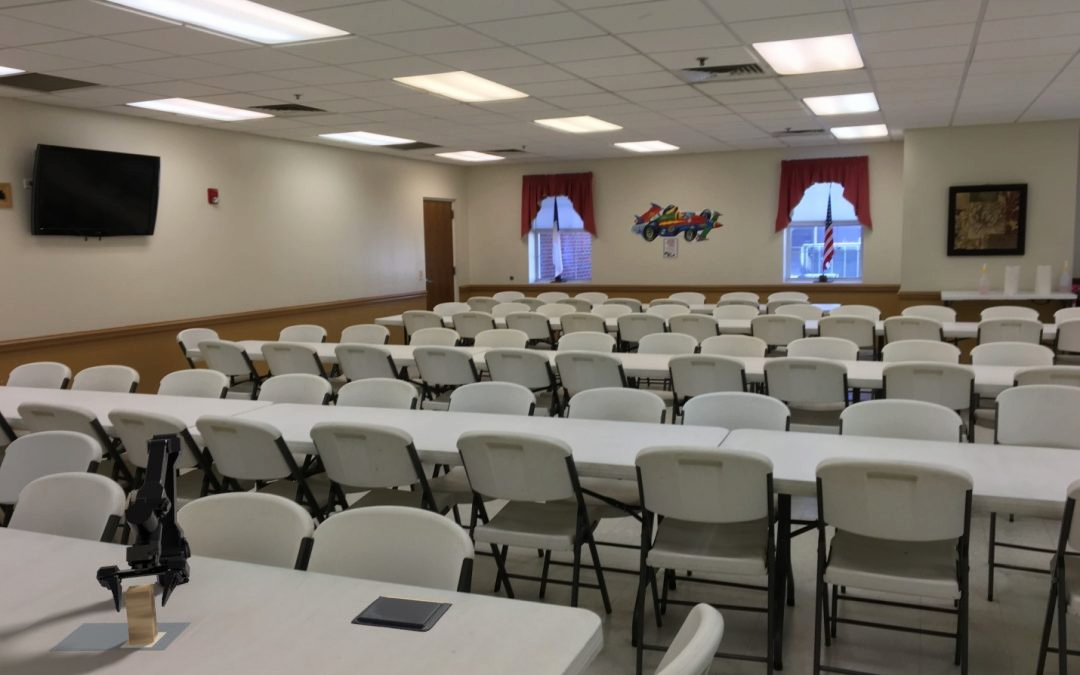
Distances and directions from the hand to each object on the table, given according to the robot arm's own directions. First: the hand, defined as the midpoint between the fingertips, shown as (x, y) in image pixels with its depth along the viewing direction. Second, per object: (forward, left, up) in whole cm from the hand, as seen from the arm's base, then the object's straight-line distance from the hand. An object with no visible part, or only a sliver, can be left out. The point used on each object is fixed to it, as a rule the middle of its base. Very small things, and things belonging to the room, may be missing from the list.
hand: (140, 608), depth 186 cm
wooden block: (0, 0, -7) cm, 7 cm away
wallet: (-51, +27, -9) cm, 58 cm away
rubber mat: (+3, -6, -8) cm, 10 cm away
